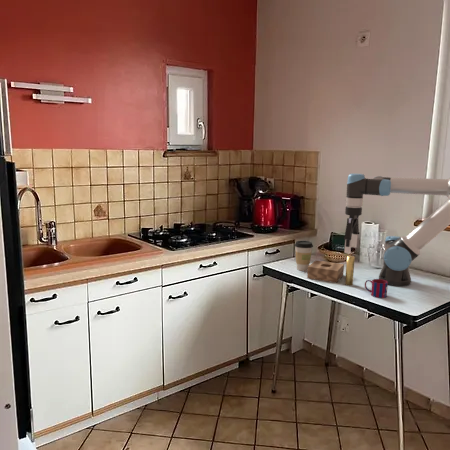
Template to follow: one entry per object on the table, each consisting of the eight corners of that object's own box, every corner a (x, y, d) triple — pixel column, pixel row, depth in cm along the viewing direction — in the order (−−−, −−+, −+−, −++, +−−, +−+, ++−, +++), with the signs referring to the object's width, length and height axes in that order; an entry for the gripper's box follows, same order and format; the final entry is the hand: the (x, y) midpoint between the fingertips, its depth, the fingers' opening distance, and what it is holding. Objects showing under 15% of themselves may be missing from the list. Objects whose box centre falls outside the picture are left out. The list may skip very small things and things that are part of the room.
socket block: (343, 275, 238) (344, 264, 237) (336, 282, 226) (337, 270, 224) (315, 271, 244) (315, 260, 243) (307, 278, 232) (307, 266, 231)
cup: (382, 299, 203) (384, 284, 202) (361, 293, 209) (362, 279, 208) (389, 295, 208) (390, 281, 207) (368, 290, 214) (369, 276, 213)
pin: (353, 284, 224) (355, 256, 221) (351, 286, 220) (353, 258, 218) (346, 282, 225) (347, 255, 223) (344, 284, 222) (346, 257, 219)
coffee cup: (311, 272, 242) (313, 245, 239) (293, 271, 244) (294, 243, 241) (312, 267, 251) (313, 240, 249) (294, 266, 253) (295, 239, 251)
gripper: (351, 202, 228) (348, 244, 232) (339, 209, 206) (336, 254, 210) (367, 204, 225) (363, 245, 229) (356, 210, 203) (352, 256, 207)
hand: (350, 250), depth 220 cm, fingers open, 13 cm apart
